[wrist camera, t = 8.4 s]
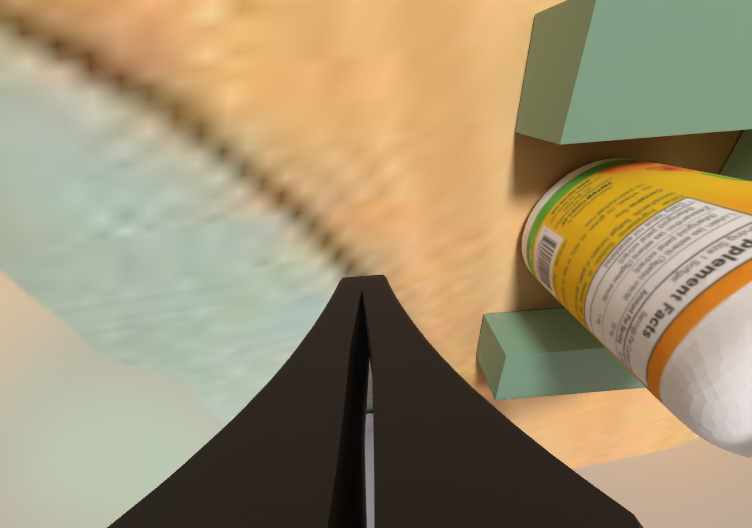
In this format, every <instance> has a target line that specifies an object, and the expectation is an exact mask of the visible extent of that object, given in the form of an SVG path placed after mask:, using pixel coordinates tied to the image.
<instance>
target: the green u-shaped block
mask: <svg viewBox="0 0 752 528" xmlns="http://www.w3.org/2000/svg"><path fill="white" fill-rule="evenodd" d="M735 130H744V131H743V133H742V135H741V136H740V138H739V140H738V142H737V144H736V145H735V147H734V149H733V151H732V153H731V154H730V156H729V158H728V160H727V162H726V163H725V165H724V167H723V169H722V171H721V172H720V174H719V175H722V176H727V177H732V178H737V179H742V180H747V181H752V0H567V1H565V2H562V3H560V4H558V5H555V6H553V7H551V8H548V9H546V10H544V11H541V12H539V13H537V14H535V19H534V25H533V30H532V36H531V42H530V48H529V54H528V60H527V65H526V71H525V77H524V83H523V89H522V94H521V100H520V106H519V112H518V118H517V123H516V129H515V132H516V133H520V134H523V135H527V136H530V137H534V138H538V139H541V140H545V141H549V142H552V143H556V144H573V143H585V142H598V141H610V140H623V139H635V138H648V137H660V136H672V135H685V134H697V133H710V132H722V131H735ZM476 357H477V360H478V362H479V364H480V367H481V369H482V371H483V373H484V376H485V378H486V380H487V383H488V385H489V387H490V390H491V392H492V394H493V397H494V399H495V400H504V399H516V398H528V397H540V396H552V395H564V394H575V393H587V392H599V391H611V390H623V389H635V388H646V387H645V386H644V385H643V384H642V383H641V382H640V381H639V380H638V379H637V378H636V377H635V376H634V375H633V374H632V373H631V372H630V371H629V370H628V369H627V368H626V367H625V366H624V365H623V364H622V363H621V362H620V361H619V360H618V359H617V358H616V357H615V356H614V355H613V354H612V353H611V352H610V351H609V350H607V349H606V348H605V347H604V346H603V345H602V344H601V343H600V342H599V341H598V340H597V339H596V338H595V337H594V336H593V335H592V334H591V333H590V332H589V331H588V330H587V329H586V328H585V327H584V326H583V325H582V324H581V323H580V322H579V321H578V320H577V319H576V318H575V317H574V316H573V315H572V314H571V313H570V312H569V311H568V310H567V309H566V308H554V309H542V310H530V311H518V312H506V313H494V314H484V315H483V321H482V327H481V332H480V338H479V344H478V350H477V356H476Z"/></svg>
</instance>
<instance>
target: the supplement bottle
mask: <svg viewBox="0 0 752 528" xmlns="http://www.w3.org/2000/svg"><path fill="white" fill-rule="evenodd" d="M522 254H523V258H524V261H525V264H526V266H527V267H528V269H529V271H530V272H531V273H532V274H533V276H534V277H535V278H536V279H537V280H538V281H539V282H540V283H541V284H542V285H543V286H544V287H545V288H546V289H547V290H548V291H549V292H550V293H551V294H552V295H553V296H554V297H555V298H556V299H557V300H558V301H559V302H560V303H561V304H562V305H563V306H564V307H565V308H566V309H567V310H568V311H569V312H570V313H571V314H572V315H573V316H574V317H575V318H576V319H577V320H578V321H579V322H580V323H581V324H582V325H583V326H584V327H585V328H586V329H587V330H588V331H589V332H590V333H591V334H592V335H593V336H594V337H595V338H596V339H597V340H598V341H599V342H600V343H601V344H602V345H603V346H604V347H605V348H606V349H607V350H609V351H610V352H611V353H612V354H613V355H614V356H615V357H616V358H617V359H618V360H619V361H620V362H621V363H622V364H623V365H624V366H625V367H626V368H627V369H628V370H629V371H630V372H631V373H632V374H633V375H634V376H635V377H636V378H637V379H638V380H639V381H640V382H641V383H642V384H643V385H644V386H645V387H646V388H647V389H648V390H649V391H650V392H651V393H652V394H653V395H654V396H655V397H656V398H657V399H658V400H659V401H660V402H661V403H662V404H663V405H664V406H665V407H666V408H667V409H668V410H670V411H671V412H672V413H673V414H674V415H675V416H676V417H677V418H678V419H679V420H680V421H681V422H683V423H684V424H685V425H686V426H687V427H688V428H689V429H691V430H692V431H693V432H694V433H696V434H697V435H699V436H700V437H701V438H703V439H705V440H706V441H708V442H710V443H711V444H713V445H716V446H718V447H720V448H722V449H725V450H727V451H730V452H732V453H735V454H738V455H741V456H746V457H750V458H752V181H747V180H742V179H737V178H732V177H727V176H722V175H717V174H712V173H707V172H702V171H697V170H692V169H686V168H681V167H677V166H671V165H666V164H661V163H656V162H651V161H645V160H638V159H631V158H610V159H604V160H600V161H596V162H593V163H590V164H587V165H585V166H582V167H580V168H578V169H576V170H574V171H573V172H571V173H569V174H568V175H566V176H565V177H563V178H562V179H561V180H559V181H558V182H557V183H555V184H554V185H553V186H552V187H551V188H550V189H549V190H548V191H547V192H546V193H545V194H544V195H543V196H542V198H541V199H540V200H539V201H538V203H537V204H536V205H535V207H534V209H533V210H532V212H531V214H530V216H529V218H528V220H527V223H526V226H525V229H524V232H523V237H522Z"/></svg>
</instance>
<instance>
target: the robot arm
mask: <svg viewBox="0 0 752 528" xmlns="http://www.w3.org/2000/svg"><path fill="white" fill-rule="evenodd" d="M369 356H370V363H371V370H372V382H373V413H369V414H366V407H367V390H368V373H369ZM107 528H643V527H642V525H641V524H640V523H639V521H638V520H637V518H636V517H635V516H634V515H633V514H632V513H631V512H630V511H628V510H627V509H625V508H624V507H623V506H621V505H620V504H618V503H617V502H616V501H614V500H613V499H611V498H610V497H609V496H607V495H606V494H604V493H603V492H602V491H600V490H599V489H598V488H596V487H595V486H593V485H592V484H591V483H589V482H588V481H587V480H585V479H584V478H582V477H581V476H580V475H578V474H577V473H576V472H574V471H573V470H572V469H571V468H569V467H568V466H567V465H565V464H564V463H563V462H561V461H560V460H559V459H557V458H556V457H555V456H553V455H552V454H551V453H549V452H548V451H547V450H546V449H544V448H543V447H542V446H541V445H539V444H538V443H537V442H536V441H534V440H533V439H532V438H531V437H529V436H528V435H527V434H526V433H524V432H523V431H522V430H521V429H519V428H518V427H517V426H516V425H514V424H513V423H512V422H511V421H510V420H509V419H508V418H506V417H505V416H504V415H503V414H502V413H501V412H500V411H498V410H497V409H496V408H495V407H494V406H493V405H492V404H490V403H489V402H488V401H487V400H486V399H485V398H484V397H482V396H481V395H480V394H479V393H478V392H477V391H476V390H474V389H473V388H472V387H471V386H470V385H469V384H468V383H467V382H466V381H465V380H464V379H463V378H462V377H461V376H460V375H459V374H458V373H457V372H456V371H455V370H454V369H453V368H452V367H451V366H450V365H449V364H448V363H447V362H446V361H445V360H444V359H443V358H442V357H441V356H440V354H439V353H438V352H437V351H436V350H435V349H434V348H433V346H432V345H431V344H430V343H429V342H428V341H427V339H426V338H425V337H424V336H423V334H422V333H421V332H420V331H419V330H418V328H417V327H416V326H415V324H414V323H413V322H412V320H411V319H410V317H409V316H408V315H407V313H406V312H405V310H404V309H403V307H402V306H401V304H400V303H399V301H398V300H397V298H396V296H395V295H394V293H393V291H392V289H391V287H390V285H389V283H388V281H387V278H386V277H385V276H384V275H372V276H359V277H346V278H342V279H341V280H340V282H339V284H338V286H337V288H336V290H335V292H334V293H333V295H332V297H331V299H330V300H329V302H328V304H327V306H326V307H325V309H324V310H323V312H322V313H321V315H320V317H319V318H318V320H317V321H316V323H315V324H314V326H313V327H312V329H311V330H310V331H309V333H308V334H307V335H306V337H305V338H304V340H303V341H302V342H301V344H300V345H299V346H298V348H297V349H296V350H295V352H294V353H293V354H292V355H291V357H290V358H289V359H288V360H287V362H286V363H285V364H284V365H283V366H282V368H281V369H280V370H279V371H278V372H277V373H276V374H275V376H274V377H273V378H272V379H271V380H270V381H269V382H268V383H267V385H266V386H265V387H264V388H263V389H262V390H261V391H260V392H259V393H258V394H257V395H256V396H255V397H254V398H253V399H252V400H251V401H250V402H249V403H248V404H247V406H246V407H245V408H244V409H243V410H242V411H241V412H240V413H239V414H238V415H237V416H236V417H235V418H234V419H233V420H231V421H230V422H229V423H228V424H227V425H226V426H225V427H224V428H223V429H222V430H221V431H220V432H219V433H218V434H217V435H215V436H214V437H213V438H212V439H211V440H210V441H209V442H208V443H207V444H206V445H204V446H203V447H202V448H201V449H200V450H199V451H198V452H197V453H196V454H195V455H193V456H192V457H191V458H190V459H189V460H188V461H187V462H186V463H185V464H184V465H183V466H181V467H180V468H179V469H178V470H177V471H176V472H174V473H173V474H172V475H171V476H170V477H169V478H168V479H166V480H165V481H164V482H163V483H162V484H160V485H159V486H158V487H157V488H156V489H155V490H153V491H152V492H151V493H150V494H148V495H147V496H146V497H145V498H143V499H142V500H141V501H140V502H139V503H137V504H136V505H135V506H134V507H132V508H131V509H130V510H129V511H127V512H126V513H125V514H124V515H122V516H121V517H120V518H119V519H117V520H116V521H115V522H114V523H113V524H111V525H110V526H109V527H107Z"/></svg>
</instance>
